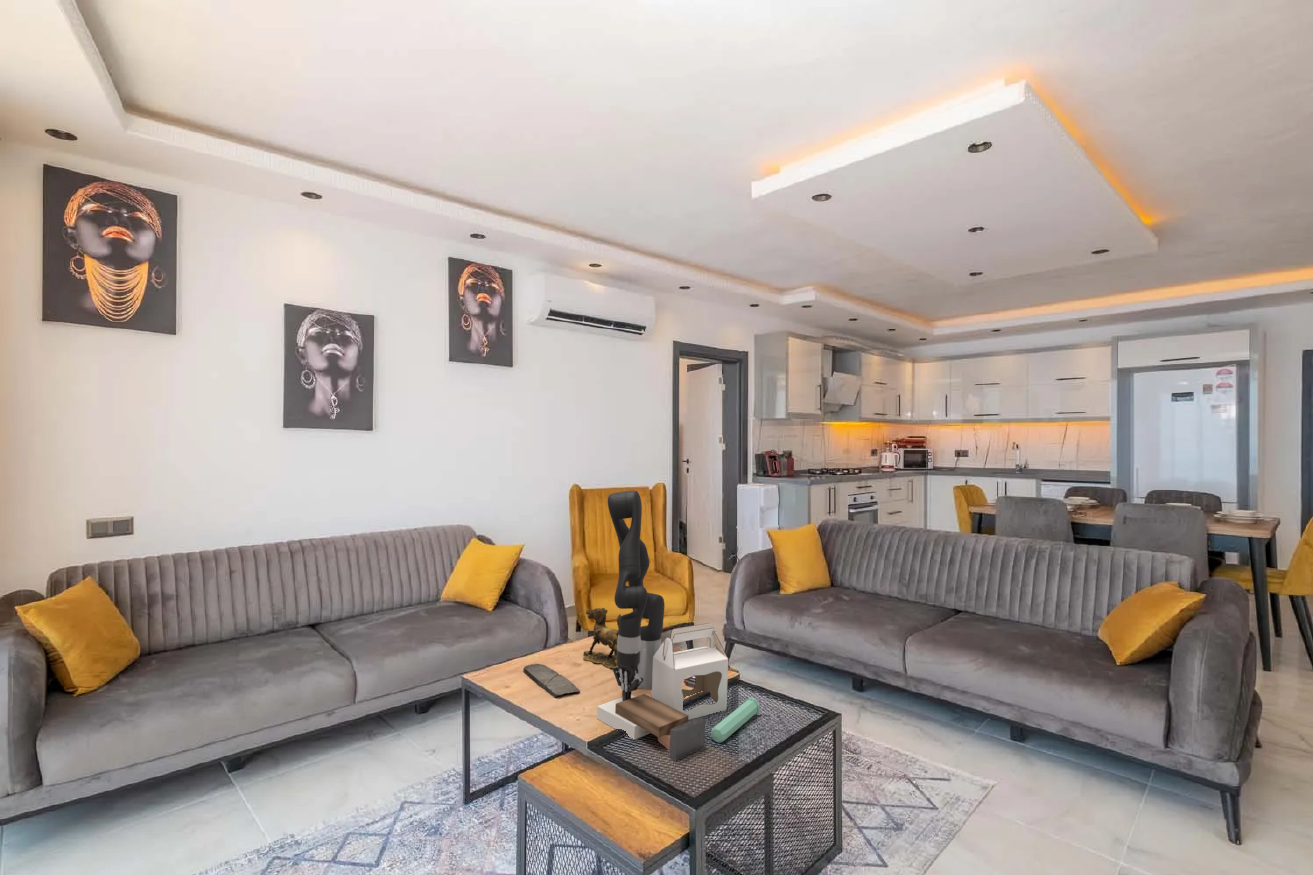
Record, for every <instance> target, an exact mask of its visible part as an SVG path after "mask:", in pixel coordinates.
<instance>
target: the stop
mask: <svg viewBox="0 0 1313 875" xmlns="http://www.w3.org/2000/svg"><path fill="white" fill-rule="evenodd" d="M705 740H706V720H705V719H704V718H702V717H698V718H694V719H691V720H688V722H687V723H684V724H682V725H680V726H677V727H675V728H673V729H670V750H669V759H672V760H673V761H675V762H676V761H679V760H681V759H683V758H685V757H687V756H688V755H691V754H693V753H695V752H698V751H700V750H702V749H704V748H705Z"/></svg>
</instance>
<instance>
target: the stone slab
mask: <svg viewBox="0 0 1313 875" xmlns="http://www.w3.org/2000/svg"><path fill="white" fill-rule="evenodd" d="M523 673H524V674H525V675H526V676H527V677H528V678H529V679H530V680H532V681H533V682H534V683H535V684H536V685H537V686H539V687H540V688H541V689H542V690H544V691H545V692H546V693H547V694H548V695H550V696H552V698H555V699H556V698H557V697H558V696H562V695H564V694H570V693H578V694H580V693H581V690H580V689H579V687H577V686H576V685H575V684H574V683H573V682H572V681H570V679H568V678H567V677H565V676H564V675H562V674H559V673H558V671H556V670H554V669H553V668H551V667H548V666H547V665H545V664H542V663H533V664H528V665H525V666H524V667H523Z"/></svg>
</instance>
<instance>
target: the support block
mask: <svg viewBox="0 0 1313 875" xmlns="http://www.w3.org/2000/svg"><path fill="white" fill-rule="evenodd" d="M657 741H658V742H659V743H660V744H661V745H663V746H664V747H665V748H666V749H668V750H669V751H670V733H669V734H666V735H664V736H662V737H657Z"/></svg>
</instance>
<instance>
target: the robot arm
mask: <svg viewBox="0 0 1313 875" xmlns="http://www.w3.org/2000/svg"><path fill="white" fill-rule="evenodd" d="M642 506H643V505H642V499H641V495H640V493H639V492H638V490H633V489H632V490H625V491H619V492H612V493H610V494H608V496H607V507H608V510H609V511H608V513H609V515H610V519H611V522H612V524H613V527H614V530H615V533H616V536H617V540H618V545H619V551H618V580H617V586H616V589H615V594H614V604H615V606H616V607H617V608H619V609H620V610H623V609H625V610H626V609H627V610H628V609H629V610H632V611H631V612H629V613H626V614H622V615H621V617H620V619H619V634H618V641H617V663H618V666H617V667H615V668H613V670H612V672H613V675H614V677H615V680H616V682H617V683H616V684H617V686H619V687H620V688H621V690H622V694H621V698H622V701H625V700H628V699H631V695H632V692H634V691H637V690H638V689H639V688H640V689H644V690H652V673H653V656H654V655H655V653H656V652H657V650H658V649H659V648H660V646H661V645H662V632H663V628H664V618H665V607H666V606H665V600H664V597H663V596H662V595H660V594H658V593H657V594H656V593H652V592H648V591H647V589H646V587H644V579H645V576H646V574H647V573H648V570H649V568H650V557H649V553H648V548H647V545H646V544H645V543H644V541H643V540H642V539H641V530H642V515H643V514H642V513H643V512H642V510H643V507H642ZM625 519H631V522H630V526H629V527H628V525H627V523H626V522H625ZM627 583H628V585H626V584H627ZM642 619H646V620H648V621H647V622H648V624H647V625H643V626H642V621H643V620H642Z"/></svg>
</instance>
